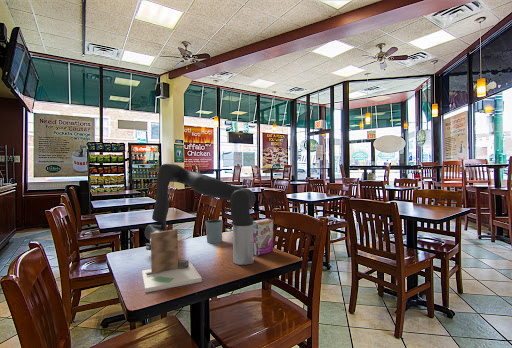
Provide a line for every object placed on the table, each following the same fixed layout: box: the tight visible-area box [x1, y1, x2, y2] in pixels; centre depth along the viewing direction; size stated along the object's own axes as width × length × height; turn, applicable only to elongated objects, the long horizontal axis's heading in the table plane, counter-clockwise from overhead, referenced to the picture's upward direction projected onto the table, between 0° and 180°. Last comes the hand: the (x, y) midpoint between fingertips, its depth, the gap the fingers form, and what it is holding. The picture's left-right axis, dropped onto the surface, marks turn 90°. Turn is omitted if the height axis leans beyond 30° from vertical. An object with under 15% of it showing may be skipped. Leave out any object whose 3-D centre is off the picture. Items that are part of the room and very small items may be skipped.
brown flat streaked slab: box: [147, 228, 190, 275], centre depth 114 cm, size 17×4×16 cm, turn 128°
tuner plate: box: [141, 262, 203, 294], centre depth 111 cm, size 20×18×2 cm
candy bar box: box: [253, 218, 274, 257], centre depth 141 cm, size 11×5×16 cm, turn 131°
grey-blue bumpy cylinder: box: [205, 219, 224, 245], centre depth 163 cm, size 10×10×12 cm
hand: (163, 250), depth 114 cm, fingers closed
